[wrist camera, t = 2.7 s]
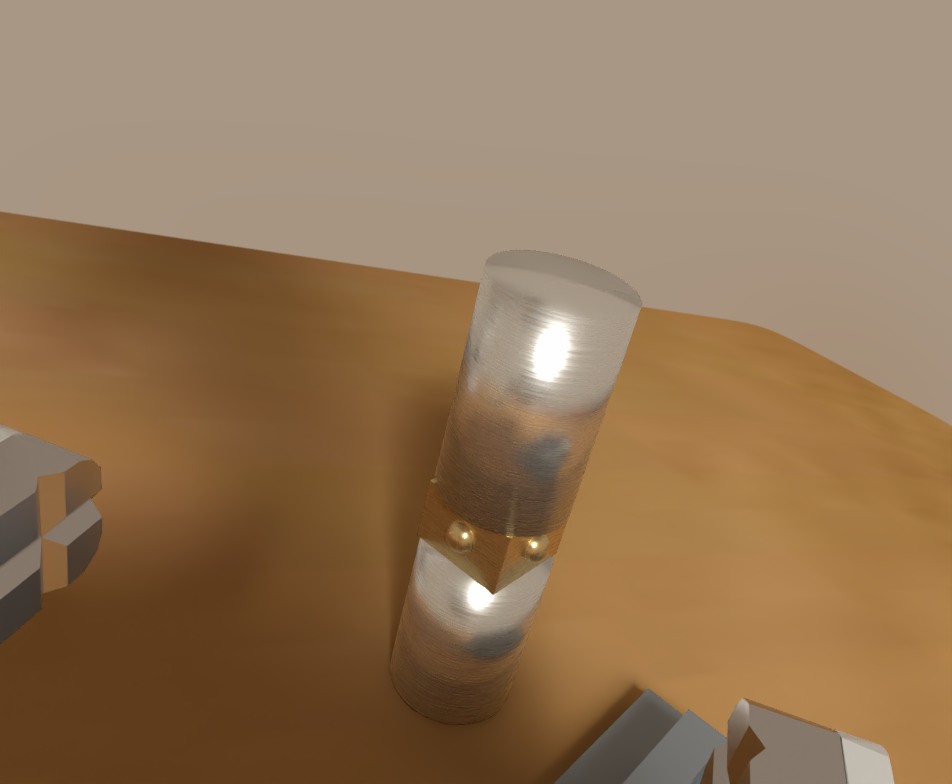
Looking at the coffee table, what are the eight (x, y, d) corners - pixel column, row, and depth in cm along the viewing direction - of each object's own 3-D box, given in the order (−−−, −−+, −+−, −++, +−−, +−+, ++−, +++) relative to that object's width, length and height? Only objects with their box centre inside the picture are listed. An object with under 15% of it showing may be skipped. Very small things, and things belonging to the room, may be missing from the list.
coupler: (364, 664, 27) (452, 261, 20) (447, 610, 30) (547, 242, 23) (453, 747, 25) (583, 331, 18) (533, 681, 28) (670, 301, 21)
